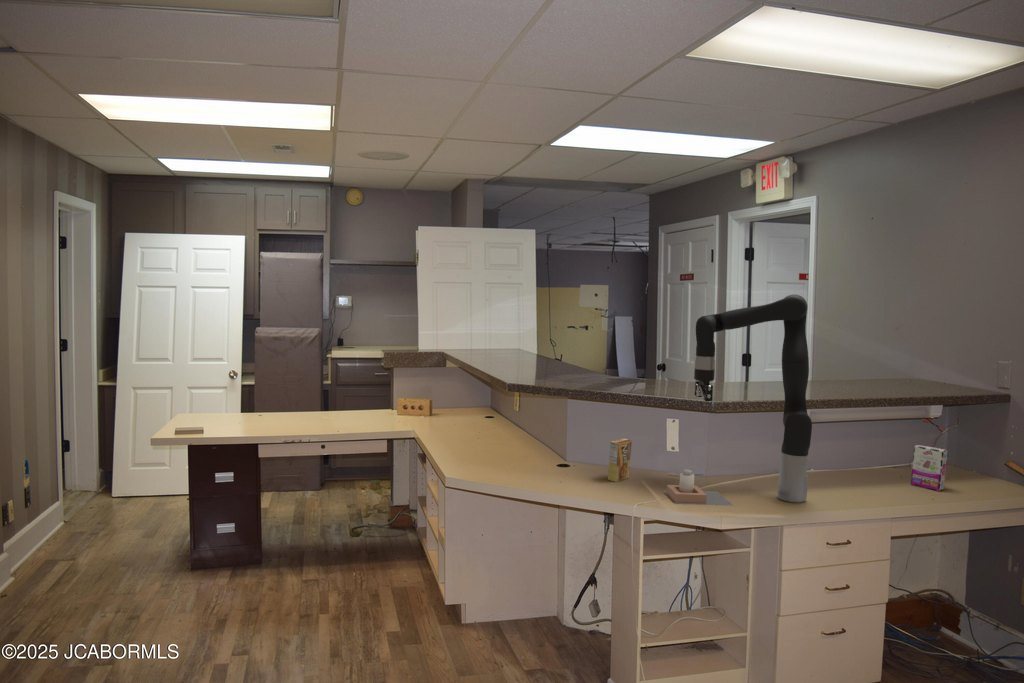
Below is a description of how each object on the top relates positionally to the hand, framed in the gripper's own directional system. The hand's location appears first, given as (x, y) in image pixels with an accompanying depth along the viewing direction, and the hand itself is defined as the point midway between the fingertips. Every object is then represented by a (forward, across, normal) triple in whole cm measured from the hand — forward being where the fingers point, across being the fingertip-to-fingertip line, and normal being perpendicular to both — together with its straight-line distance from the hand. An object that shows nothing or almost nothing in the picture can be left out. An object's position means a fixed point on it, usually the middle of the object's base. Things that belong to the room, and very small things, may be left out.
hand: (702, 409), depth 285 cm
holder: (+29, -21, +7) cm, 37 cm away
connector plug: (+28, -22, +12) cm, 37 cm away
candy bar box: (+32, +8, -96) cm, 102 cm away
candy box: (+29, +4, +31) cm, 42 cm away
